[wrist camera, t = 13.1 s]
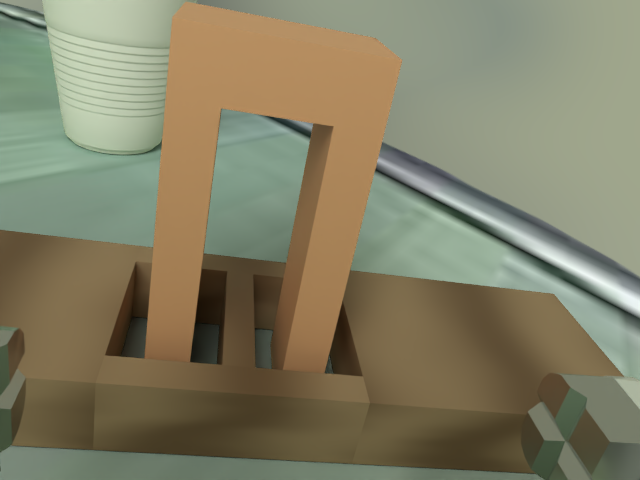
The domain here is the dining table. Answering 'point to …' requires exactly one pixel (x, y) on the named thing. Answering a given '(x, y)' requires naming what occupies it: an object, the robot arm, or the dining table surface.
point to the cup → (111, 70)
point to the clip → (319, 175)
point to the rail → (282, 385)
